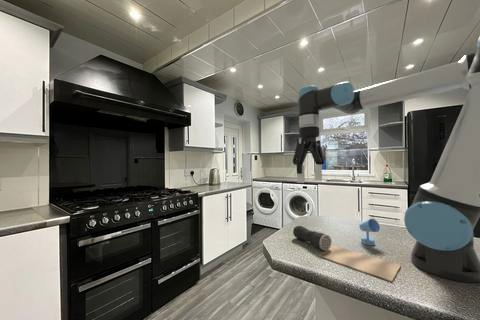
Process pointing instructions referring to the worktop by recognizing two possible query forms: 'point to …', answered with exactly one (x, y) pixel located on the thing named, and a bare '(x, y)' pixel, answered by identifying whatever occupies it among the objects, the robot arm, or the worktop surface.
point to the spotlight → (369, 230)
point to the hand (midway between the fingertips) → (310, 181)
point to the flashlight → (313, 237)
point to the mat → (362, 263)
